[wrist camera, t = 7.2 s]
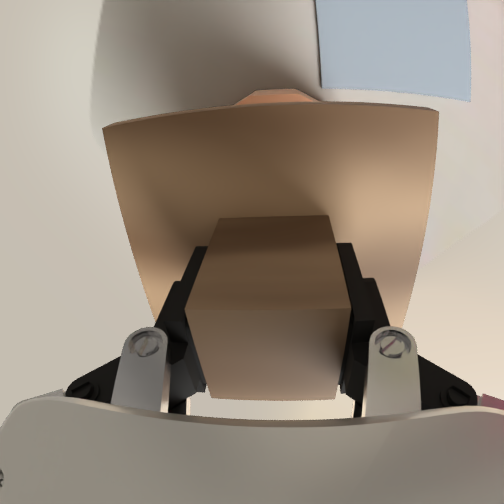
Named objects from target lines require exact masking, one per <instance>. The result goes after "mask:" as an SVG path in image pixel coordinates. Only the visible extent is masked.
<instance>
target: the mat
mask: <svg viewBox="0 0 504 504" xmlns="http://www.w3.org/2000/svg"><path fill="white" fill-rule="evenodd" d="M315 1H316V12H317V23H318V35H319V49H320V64H321V83H322V88H324V89H360V90H378V91H391V92H402V93H412V94H420V95H428V96H436V97H443V98H449V99H455V100H461V101H467V102H470V101H471V47H470V30H469V18H468V8H467V0H315Z"/></svg>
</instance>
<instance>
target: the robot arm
mask: <svg viewBox="0 0 504 504" xmlns="http://www.w3.org/2000/svg"><path fill="white" fill-rule="evenodd" d="M336 245H337V249H338V253H339V257H340V261H341V266H342V270H343V274H344V278H345V282H346V287H347V291H348V296H349V300H350V305H351V313H350V319H349V326H348V332H347V338H346V344H345V350H344V355H343V361H342V366H341V371H340V376H339V381H338V385H340V391H341V394H343V393H346V395H348V396H349V397H350V398H352V399H353V400H354V401H353V407H352V416H351V418H345V419H327V420H246V419H227V418H213V417H202V416H191V415H190V408H191V407H190V405H191V399H190V396H192V395H193V394H195V393H196V392H205V389H206V384H207V383H206V379H205V376H204V373H203V370H202V367H201V364H200V360H199V357H198V354H197V351H196V347H195V344H194V341H193V337H192V334H191V330H190V327H189V323H188V320H187V316H186V313H185V307H186V304H187V301H188V298H189V296H190V293H191V290H192V288H193V285H194V282H195V280H196V277H197V274H198V272H199V269H200V267H201V264H202V261H203V259H204V256H205V254H206V251H207V248H208V246H196V247H195V249H194V251H193V253H192V256H191V258H190V260H189V262H188V265H187V267H186V269H185V272H184V274H183V276H182V278H181V281H175V282H174V283H173V284H172V287H171V289H170V291H169V293H168V296H167V298H166V300H165V302H164V305H163V307H162V309H161V311H160V314H159V316H158V318H157V320H156V323H155V326H154V327H146V328H141V329H139V330H137V331H135V332H133V333H132V334H130V335H129V337H128V338H127V339H126V341H125V343H124V346H123V350H122V354H121V356H120V357H118V358H116V359H114V360H112V361H110V362H108V363H107V364H105V365H103V366H101V367H99V368H97V369H95V370H93V371H91V372H89V373H87V374H85V375H84V376H82V377H80V378H78V379H77V380H75V381H73V382H72V383H71V384H70V386H69V387H68V389H67V391H66V392H64V390H63V389H60V390H57V391H54V392H50V393H47V394H44V395H40V396H37V397H34V398H30V399H27V400H23V401H21V402H19V403H17V404H16V405H15V406H14V407H13V409H12V411H11V412H10V414H9V415H8V416H7V418H6V420H5V421H4V423H3V424H2V426H1V427H0V504H504V401H503V400H501V399H498V398H495V397H492V396H489V395H486V394H482V396H481V397H480V396H477V395H476V392H475V390H474V389H473V388H472V386H470V385H469V384H468V383H467V382H465V381H463V380H462V379H460V378H458V377H456V376H455V375H453V374H451V373H449V372H447V371H445V370H444V369H442V368H440V367H439V366H437V365H435V364H434V363H432V362H430V361H428V360H426V359H425V358H423V357H421V356H420V355H418V354H417V345H416V342H415V339H414V338H413V336H412V335H411V334H410V333H409V332H407V331H406V330H404V329H402V328H399V327H394V326H390V323H389V320H388V316H387V313H386V310H385V307H384V304H383V301H382V298H381V295H380V292H379V289H378V286H377V283H376V281H375V278H363V277H362V274H361V270H360V267H359V264H358V261H357V258H356V255H355V251H354V248H353V245H352V243H336Z"/></svg>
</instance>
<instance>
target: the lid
mask: <svg viewBox="0 0 504 504" xmlns="http://www.w3.org/2000/svg"><path fill="white" fill-rule="evenodd" d="M438 121H439V112H438V111H436V110H433V109H430V108H426V107H417V106H407V105H396V104H382V103H365V102H328V101H312V102H275V103H257V104H243V105H231V106H220V107H211V108H202V109H194V110H186V111H179V112H172V113H166V114H159V115H153V116H148V117H142V118H137V119H131V120H126V121H121V122H116V123H113V124H111V125H108V126H106V127H104V128H102V130H103V135H104V140H105V145H106V150H107V154H108V159H109V163H110V168H111V173H112V177H113V181H114V185H115V190H116V194H117V198H118V202H119V206H120V209H121V213H122V217H123V221H124V224H125V228H126V232H127V235H128V238H129V242H130V245H131V249H132V252H133V256H134V259H135V262H136V265H137V268H138V271H139V275H140V278H141V281H142V284H143V287H144V290H145V293H146V296H147V299H148V302H149V305H150V308H151V310H152V313H153V316H154V319H155V322H156V320H157V318H158V316H159V314H160V311H161V309H162V307H163V305H164V302H165V300H166V298H167V296H168V293H169V291H170V289H171V287H172V284H173V283H174V282H175V281H181V278H182V276H183V274H184V272H185V269H186V267H187V265H188V262H189V260H190V258H191V256H192V253H193V251H194V249H195V247H196V246H208V248H207V251H206V254H205V256H204V259H203V261H202V264H201V267H200V269H199V272H198V274H197V277H196V280H195V282H194V285H193V288H192V290H191V293H190V296H189V298H188V301H187V304H186V307H185V313H186V316H187V320H188V323H189V327H190V330H191V334H192V337H193V341H194V344H195V347H196V351H197V354H198V357H199V360H200V364H201V367H202V370H203V373H204V376H205V379H206V383H207V386H208V388H209V391H210V395H211V397H212V398H218V399H236V400H237V399H238V400H270V401H271V400H272V401H296V400H328V399H335V396H336V391H337V386H338V381H339V376H340V371H341V366H342V361H343V355H344V350H345V344H346V338H347V332H348V326H349V319H350V313H351V305H350V300H349V296H348V291H347V287H346V282H345V278H344V274H343V270H342V266H341V261H340V257H339V253H338V249H337V245H336V243H352V245H353V248H354V251H355V255H356V258H357V261H358V264H359V267H360V270H361V274H362V277H363V278H375V281H376V283H377V286H378V289H379V292H380V295H381V298H382V301H383V304H384V307H385V310H386V313H387V316H388V320H389V323H390V326H394V327H399V328H402V326H403V322H404V319H405V316H406V312H407V309H408V305H409V301H410V297H411V294H412V290H413V286H414V282H415V277H416V274H417V269H418V265H419V260H420V256H421V251H422V246H423V241H424V236H425V231H426V225H427V219H428V213H429V207H430V200H431V193H432V186H433V178H434V170H435V160H436V150H437V137H438Z"/></svg>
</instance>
